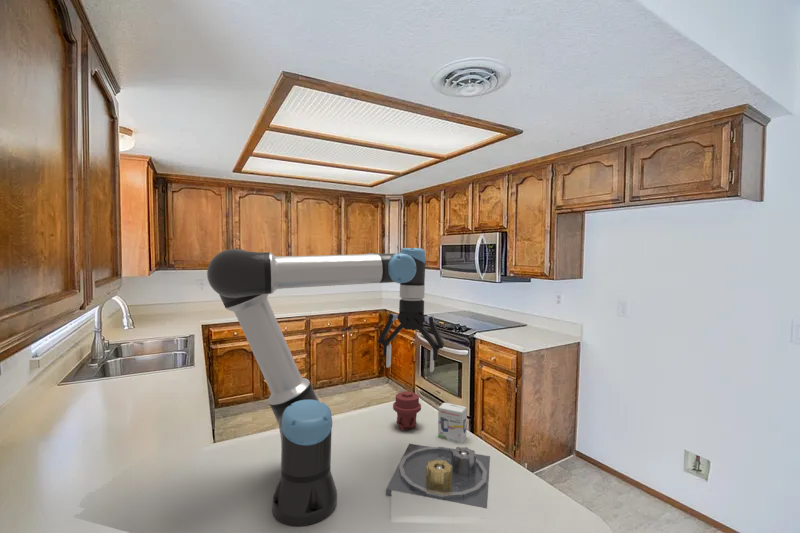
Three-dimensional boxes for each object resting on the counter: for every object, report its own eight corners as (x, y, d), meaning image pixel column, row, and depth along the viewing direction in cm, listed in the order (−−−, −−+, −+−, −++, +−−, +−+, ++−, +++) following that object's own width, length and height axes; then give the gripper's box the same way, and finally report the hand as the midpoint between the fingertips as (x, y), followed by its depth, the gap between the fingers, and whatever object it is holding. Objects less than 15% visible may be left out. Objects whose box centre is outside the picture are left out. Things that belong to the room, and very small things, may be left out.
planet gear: (452, 478, 102) (453, 462, 102) (449, 493, 95) (450, 475, 95) (428, 474, 103) (429, 458, 103) (424, 488, 97) (424, 470, 97)
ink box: (466, 442, 126) (467, 406, 126) (461, 448, 121) (462, 412, 121) (442, 435, 130) (443, 401, 130) (436, 442, 125) (437, 406, 125)
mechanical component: (394, 420, 141) (421, 422, 140) (390, 432, 131) (419, 434, 130) (395, 387, 141) (422, 389, 140) (391, 397, 131) (420, 398, 130)
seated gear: (477, 475, 104) (478, 459, 103) (453, 474, 104) (453, 458, 103) (472, 462, 110) (473, 447, 110) (450, 462, 110) (450, 446, 110)
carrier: (486, 514, 90) (487, 489, 90) (386, 494, 96) (386, 471, 96) (489, 461, 114) (490, 441, 114) (409, 448, 121) (409, 429, 120)
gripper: (454, 300, 115) (452, 369, 116) (376, 295, 122) (375, 361, 122) (451, 302, 108) (449, 376, 109) (368, 297, 115) (367, 367, 115)
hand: (409, 368), depth 115 cm, fingers open, 13 cm apart
